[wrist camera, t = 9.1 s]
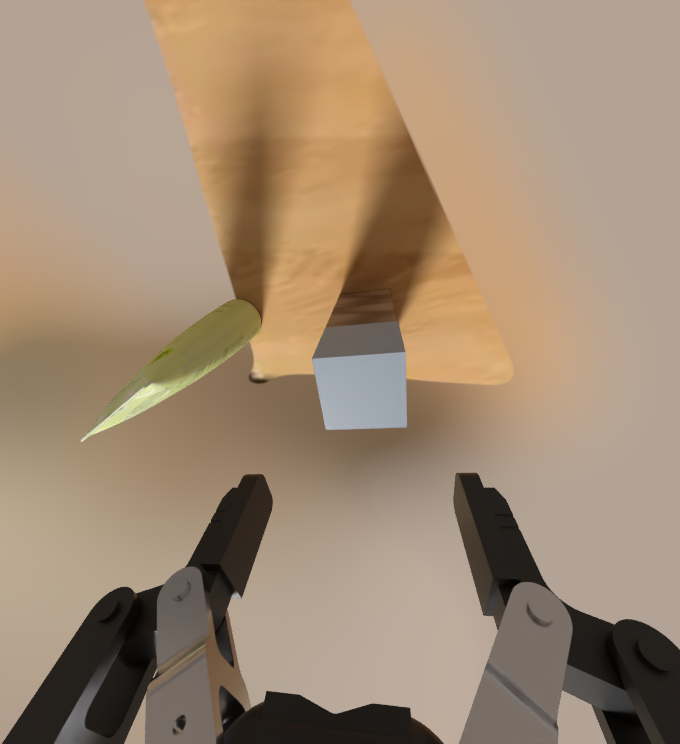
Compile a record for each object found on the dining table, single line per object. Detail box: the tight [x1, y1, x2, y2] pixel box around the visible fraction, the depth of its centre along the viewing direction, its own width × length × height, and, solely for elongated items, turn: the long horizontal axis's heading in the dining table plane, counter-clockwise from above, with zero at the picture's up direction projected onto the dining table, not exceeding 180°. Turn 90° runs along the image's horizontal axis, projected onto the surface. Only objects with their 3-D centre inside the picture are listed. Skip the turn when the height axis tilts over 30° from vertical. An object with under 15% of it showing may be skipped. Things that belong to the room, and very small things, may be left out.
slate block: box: [312, 321, 407, 430], centre depth 20 cm, size 6×6×6 cm
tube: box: [80, 299, 261, 442], centre depth 25 cm, size 6×5×20 cm
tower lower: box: [334, 289, 393, 308], centre depth 30 cm, size 6×6×6 cm
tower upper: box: [326, 302, 397, 327], centre depth 25 cm, size 6×6×6 cm
